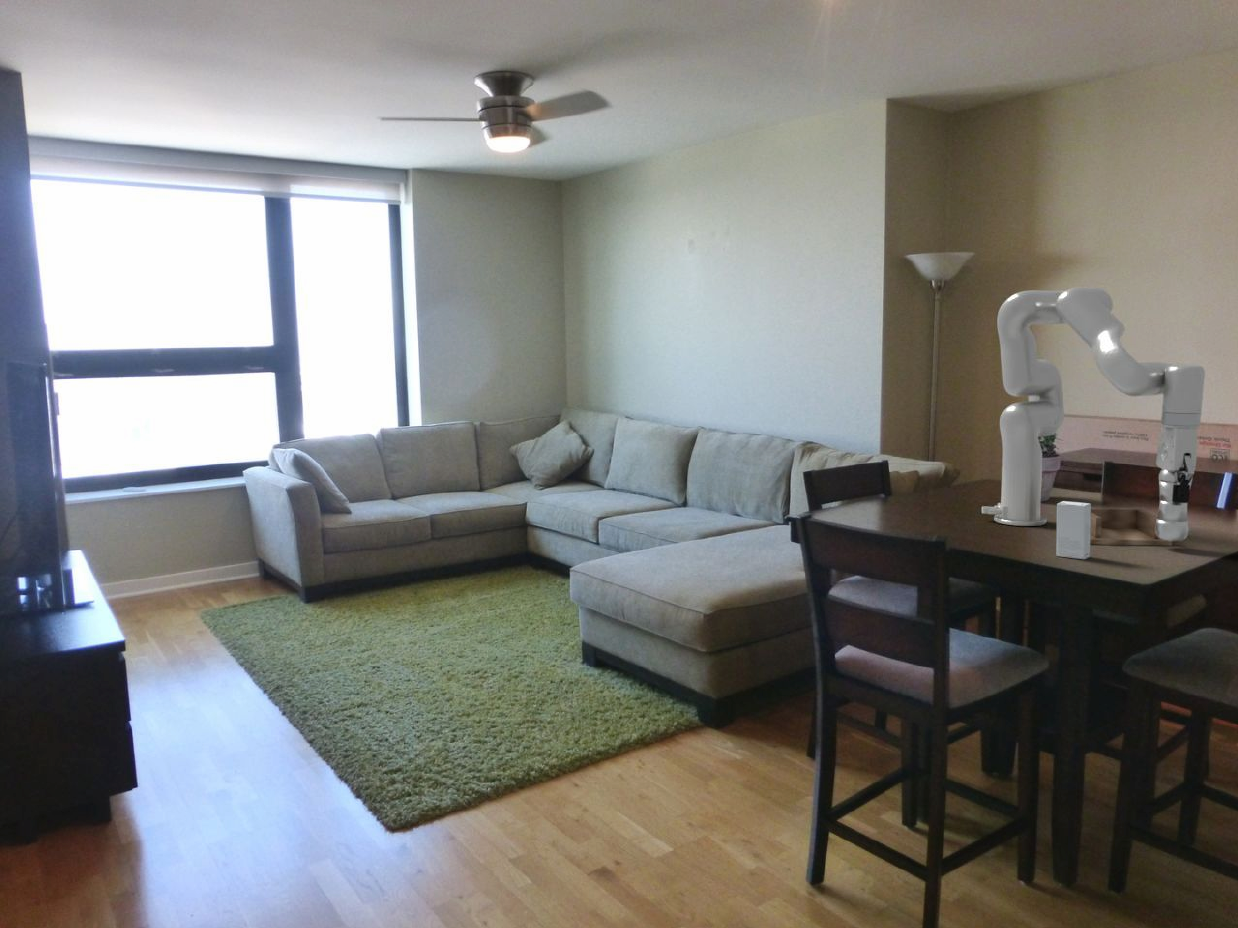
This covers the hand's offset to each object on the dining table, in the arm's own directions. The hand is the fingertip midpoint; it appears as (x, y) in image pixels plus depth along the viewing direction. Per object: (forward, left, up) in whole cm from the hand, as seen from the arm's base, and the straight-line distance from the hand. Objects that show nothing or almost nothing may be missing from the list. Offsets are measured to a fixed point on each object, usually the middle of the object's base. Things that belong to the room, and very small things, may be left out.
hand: (1173, 498), depth 207 cm
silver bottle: (0, 0, -10) cm, 10 cm away
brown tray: (-8, +11, -12) cm, 18 cm away
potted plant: (-14, +65, -12) cm, 68 cm away
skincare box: (-24, -10, -12) cm, 28 cm away
